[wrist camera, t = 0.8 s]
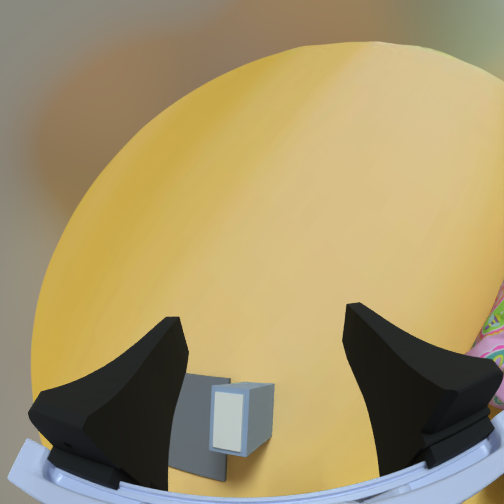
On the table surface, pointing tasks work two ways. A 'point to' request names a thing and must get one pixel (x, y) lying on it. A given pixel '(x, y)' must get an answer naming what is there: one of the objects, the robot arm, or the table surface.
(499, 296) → the pencil case
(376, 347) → the robot arm
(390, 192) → the table surface
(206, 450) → the mat
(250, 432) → the block
